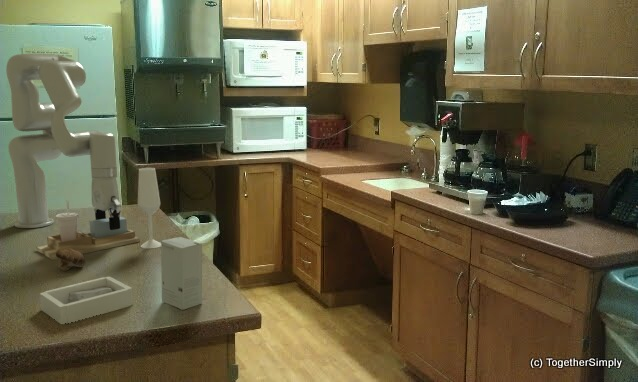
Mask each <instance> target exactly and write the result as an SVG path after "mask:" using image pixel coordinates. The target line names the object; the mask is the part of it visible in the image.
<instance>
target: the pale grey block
mask: <svg viewBox="0 0 638 382" xmlns="http://www.w3.org/2000/svg"><path fill="white" fill-rule="evenodd" d="M127 229H128V225H127V218H125V217H123V216H121V215H120V229H116V230H110V226H109V217H106V219H100V220H96V219H95V220H89V230H90V232H89V233H91V236H92V237H94V238H101V237H107V236H112V235H117V234H122V233H127Z"/></svg>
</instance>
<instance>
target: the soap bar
mask: <svg viewBox="0 0 638 382" xmlns="http://www.w3.org/2000/svg"><path fill="white" fill-rule="evenodd" d="M110 292H113V291H112V290H111V288H108V287H105V286H103V287H98V288H93V289H88V290H82V291H78V292H73V293H69V298H68V303H72V302H76V301H80V300H84V299H87V298H91V297H95V296H99V295H103V294H107V293H110Z"/></svg>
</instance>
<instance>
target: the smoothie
mask: <svg viewBox="0 0 638 382" xmlns="http://www.w3.org/2000/svg"><path fill="white" fill-rule="evenodd" d="M65 203H66V212H63V213H58V214H56V215H55V220H56V222H57V226H58V227H57V228H58V230H59V234H60V236H61V240H62V241H67V240H72V239H76V236H77V231H78V218H79V213H77V212H70V206H69V200H66V201H65Z"/></svg>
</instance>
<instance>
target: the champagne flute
mask: <svg viewBox="0 0 638 382" xmlns="http://www.w3.org/2000/svg"><path fill="white" fill-rule="evenodd" d="M158 185H159V184H158V179H157V173H156V168H155V167H141V168H138V187H137V192H138V193H137V207H138V208H139V210H140V211H141V212H142V213H143V214H145V215H147V221H148V222H147V223H148V240H147V241H145V242H144V243H142V244H141V245H140V248H142V249H156V248H160V247H161V241H160V242H159V241H157V240H155V239H154V232H153V231H154V229H153V215H154V214H155V213H156V212H157V211H158V210H159V209H160V207H161V199H160V191H159V186H158Z"/></svg>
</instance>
